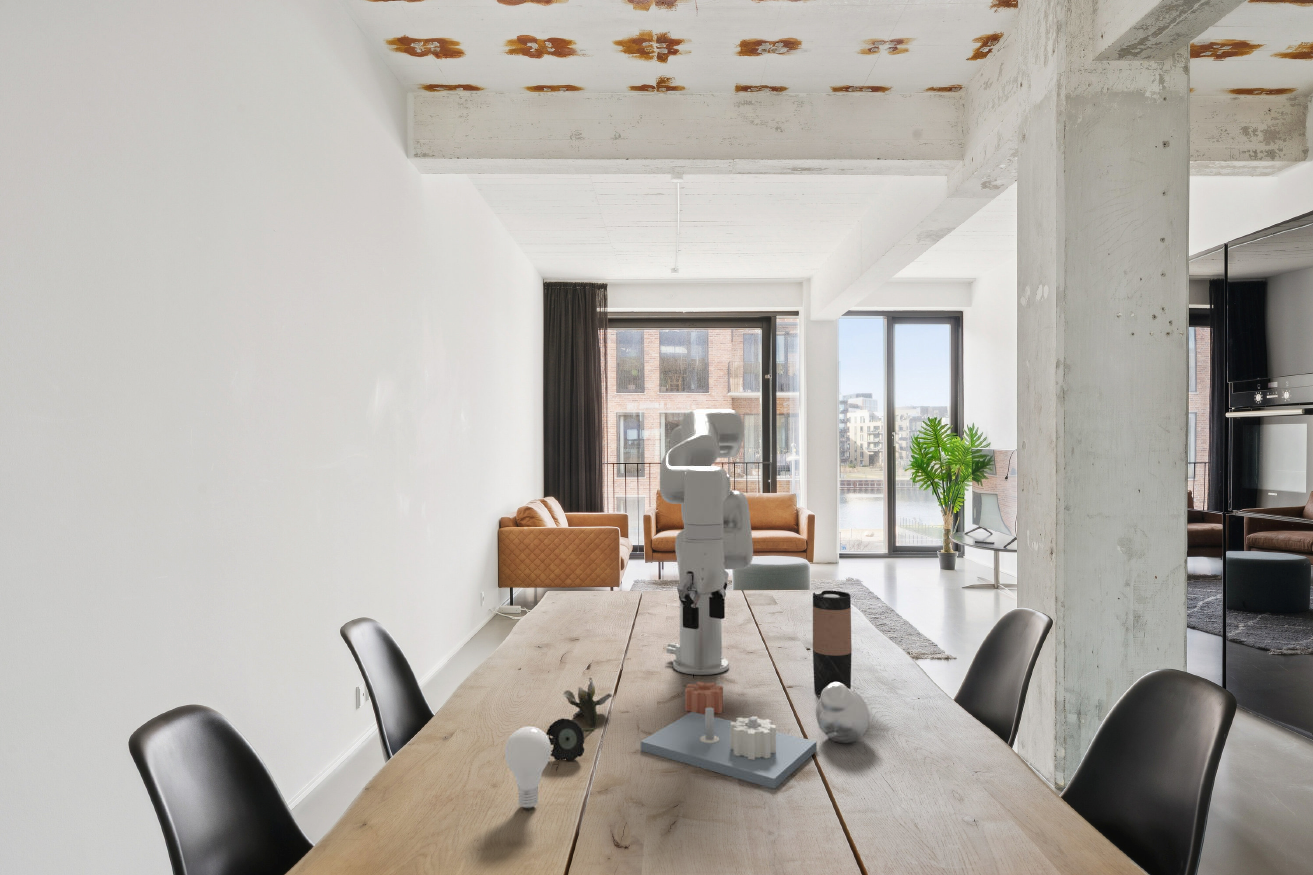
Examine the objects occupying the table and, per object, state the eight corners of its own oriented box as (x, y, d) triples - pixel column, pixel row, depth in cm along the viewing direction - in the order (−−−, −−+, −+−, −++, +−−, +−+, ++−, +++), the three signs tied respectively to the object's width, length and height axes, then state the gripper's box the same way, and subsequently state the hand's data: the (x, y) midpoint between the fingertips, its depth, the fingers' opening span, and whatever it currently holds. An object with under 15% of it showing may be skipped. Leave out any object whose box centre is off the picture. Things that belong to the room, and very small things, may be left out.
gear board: (640, 750, 119) (640, 710, 119) (692, 719, 132) (691, 684, 133) (774, 788, 106) (774, 744, 106) (816, 750, 119) (816, 710, 119)
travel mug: (853, 700, 142) (852, 598, 142) (813, 698, 143) (812, 597, 144) (850, 687, 149) (849, 590, 150) (812, 685, 151) (812, 589, 151)
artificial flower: (536, 768, 116) (523, 705, 118) (584, 732, 138) (573, 678, 139) (587, 758, 114) (573, 693, 116) (628, 722, 136) (616, 668, 138)
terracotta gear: (678, 710, 137) (678, 689, 137) (697, 699, 143) (697, 679, 143) (710, 718, 133) (710, 696, 133) (729, 706, 139) (729, 685, 139)
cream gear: (728, 757, 113) (728, 731, 113) (733, 739, 120) (733, 714, 120) (774, 761, 111) (774, 735, 111) (776, 742, 118) (776, 718, 118)
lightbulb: (507, 797, 104) (507, 720, 104) (552, 795, 104) (552, 718, 104) (502, 820, 97) (501, 737, 97) (549, 817, 98) (549, 735, 98)
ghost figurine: (802, 735, 125) (802, 677, 125) (848, 727, 129) (847, 670, 129) (834, 756, 117) (833, 693, 117) (881, 746, 120) (881, 686, 120)
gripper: (709, 527, 148) (709, 612, 147) (662, 536, 133) (662, 629, 133) (742, 529, 143) (742, 616, 143) (697, 538, 129) (697, 635, 129)
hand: (704, 622), depth 138 cm, fingers open, 9 cm apart
